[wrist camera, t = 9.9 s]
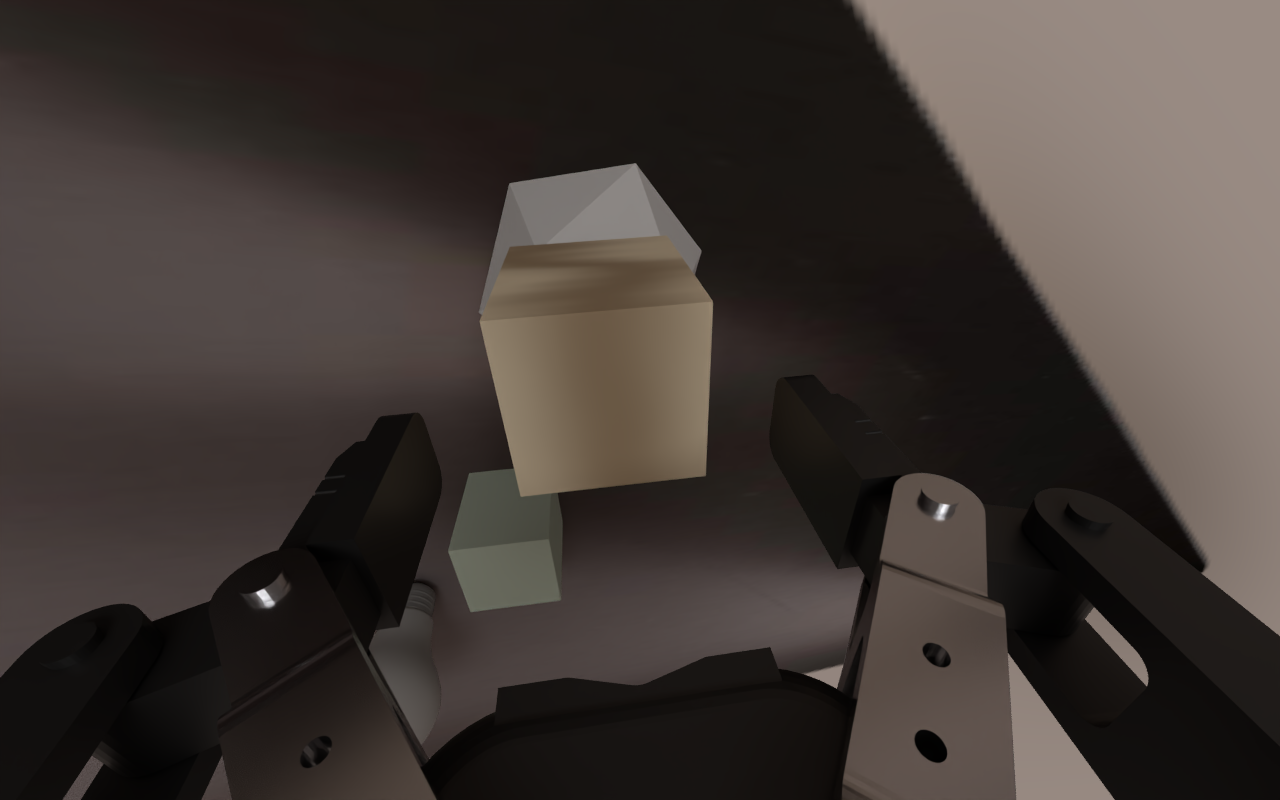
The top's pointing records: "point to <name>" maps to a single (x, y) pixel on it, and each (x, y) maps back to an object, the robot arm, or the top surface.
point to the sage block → (506, 543)
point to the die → (585, 214)
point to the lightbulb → (412, 661)
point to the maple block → (600, 363)
